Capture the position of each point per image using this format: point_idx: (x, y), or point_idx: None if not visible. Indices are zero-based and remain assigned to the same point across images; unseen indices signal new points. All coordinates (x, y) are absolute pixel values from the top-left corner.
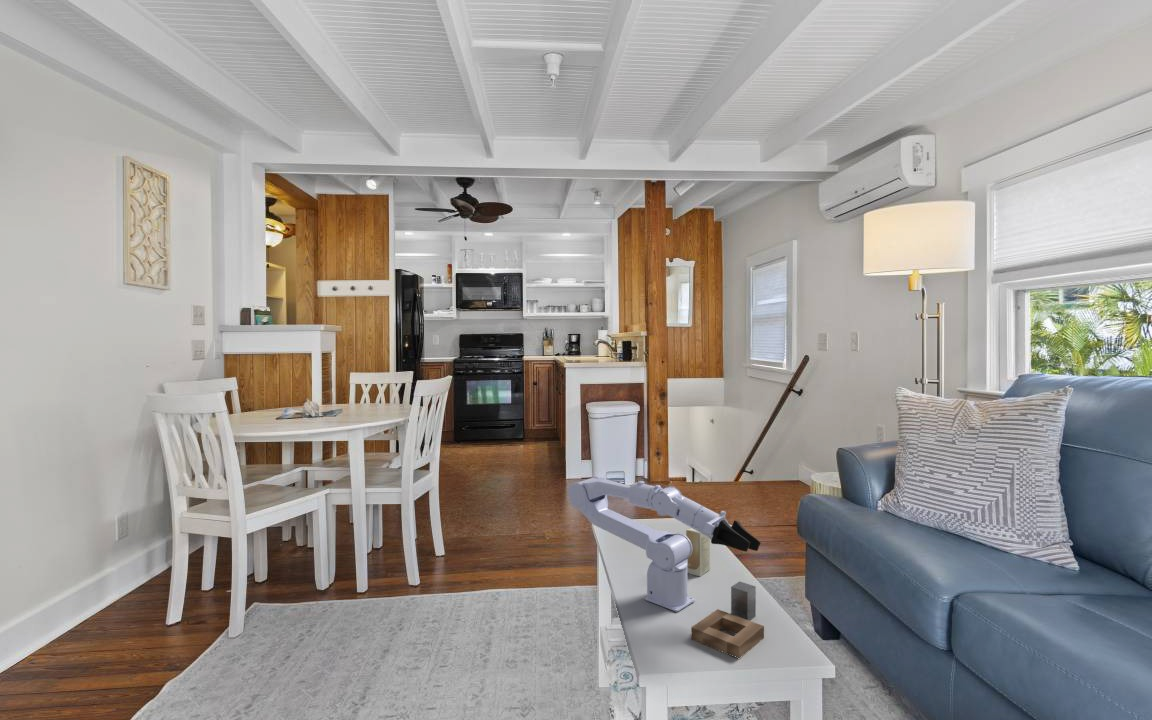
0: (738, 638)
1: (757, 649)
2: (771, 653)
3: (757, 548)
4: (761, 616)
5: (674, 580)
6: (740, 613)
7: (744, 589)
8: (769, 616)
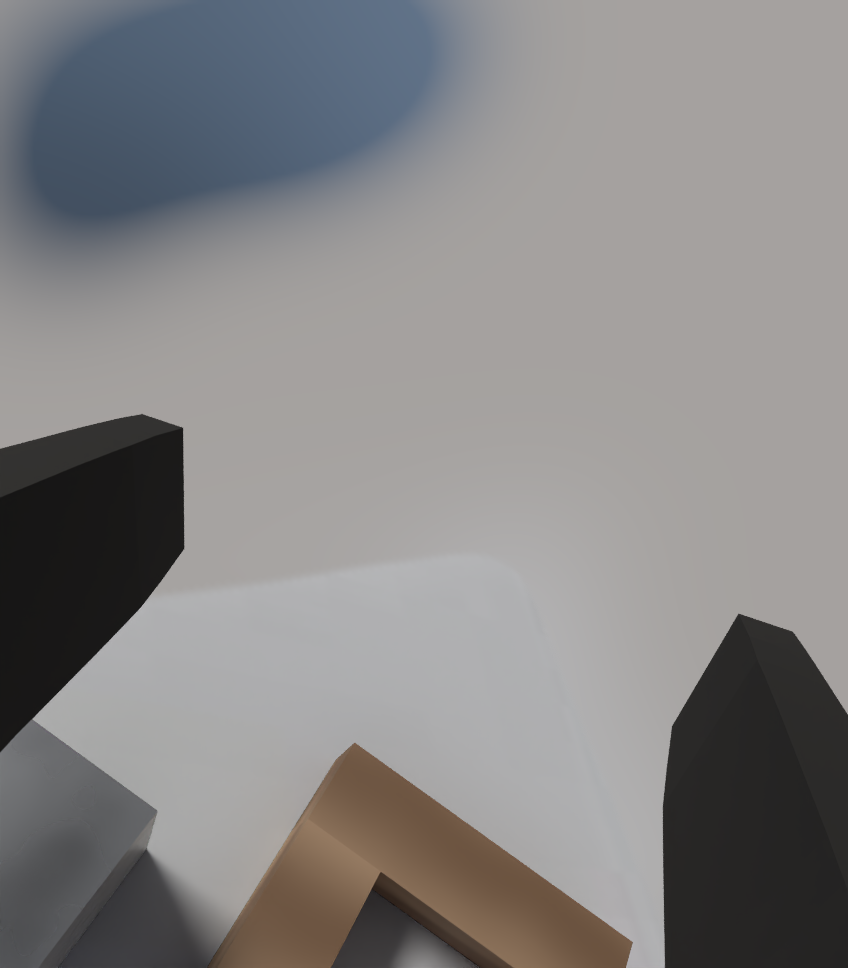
0: (548, 943)
1: (468, 819)
2: (486, 746)
3: (180, 516)
4: None
5: None
6: (104, 900)
7: (95, 836)
8: None
